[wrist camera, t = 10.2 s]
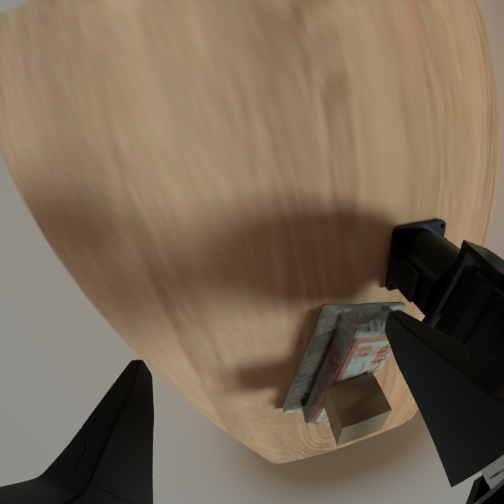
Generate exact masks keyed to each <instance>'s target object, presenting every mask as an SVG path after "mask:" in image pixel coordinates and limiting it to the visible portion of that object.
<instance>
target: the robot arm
mask: <svg viewBox="0 0 504 504" xmlns="http://www.w3.org/2000/svg"><path fill="white" fill-rule="evenodd" d="M445 227H446V222H445V221H443V220H441V219H440V220H435V221H429V222H423V223H418V224H412V225H406V226H401V227H396V228H395V229H394V230H393V234H392V243H391V251H390V256H389V263H388V270H387V278H386V284H385V287H386V288H387V290H389V291H391V290H395V289H398V290H399V291H400V292H401V293H402V294H403V295H404V297H405V298H406V299H407V300H408V301H409V302H413V303H414V304H415V305H416V306H417V307H418V308H419V310H420V311H421V312H422V313H423V314H424V315H426V316H425V317H424V319H423V320H422V322H421V321H419V320H418V319H416V318H414V317H412V316H410V315H408V314H406V313H404V312H402V311H401V310H394V311H391V312H389V313H388V316H387V320H386V324H385V334H386V337H387V339H388V342H389V344H390V347H391V349H392V352H393V354H394V357H395V360H396V362H397V365H398V367H399V369H400V371H401V373H402V375H403V377H404V379H405V381H406V383H407V385H408V387H409V389H410V391H411V393H412V395H413V397H414V399H415V401H416V404H417V406H418V408H419V410H420V412H421V414H422V416H423V419H424V421H425V423H426V425H427V428H428V430H429V432H430V435H431V437H432V439H433V442H434V444H435V447H436V449H437V452H438V454H439V457H440V459H441V462H442V464H443V467H444V469H445V472H446V475H447V477H448V480H449V483H450V485H451V487H453V486H455V485H457V484H459V483H461V482H462V481H464V480H466V479H468V478H469V477H471V476H473V475H474V474H476V473H477V472H479V471H481V472H482V475H481V476H480V477H479V478H477V479H476V480H475V481H474V483H473V486H472V489H471V492H470V494H469V497H468V500H467V502H466V504H504V260H503V259H501V258H500V257H499V256H497V255H496V254H494V253H493V252H491V251H490V250H488V249H487V248H484V247H481V246H479V245H476V244H474V243H471V242H468V241H466V240H463V242H462V245H461V249H459V248H458V247H457V246H455V245H454V244H453V243H451V242H450V241H448V240H447V239H446V238H444V233H445ZM398 232H399V234H398ZM397 234H398V235H397ZM153 426H154V405H153V385H152V376H151V373H150V371H149V369H148V368H147V366H146V364H145V363H144V361H143V360H133V361H131V362H130V363H129V364H128V366H127V367H126V368H125V370H124V371H123V372H122V373H121V375H120V376H119V377H118V379H117V380H116V381H115V383H114V384H113V385H112V387H111V388H110V390H109V391H108V392H107V393H106V395H105V396H104V397H103V399H102V400H101V402H100V403H99V404H98V405H97V407H96V408H95V409H94V411H93V412H92V413H91V415H90V416H89V418H88V419H87V420H86V422H85V423H84V424H83V426H82V429H80V430H79V431H78V433H77V434H76V435H75V437H74V438H73V439H72V441H71V442H70V443H69V445H68V446H67V447H66V448H65V449H64V450H63V452H62V453H61V454H60V455H59V456H58V457H57V459H56V460H55V461H54V462H53V463H52V464H51V465H50V466H49V467H48V469H47V470H46V471H45V472H44V473H43V474H41V475H40V476H39V477H37V478H35V479H32V480H28V481H24V482H20V483H16V484H12V485H7V486H3V487H0V504H153V484H152V483H153V482H152V481H153V479H152V477H153V476H152V467H153V466H152V464H153V463H152V462H153Z"/></svg>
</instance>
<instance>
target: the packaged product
mask: <svg viewBox="0 0 504 504" xmlns="http://www.w3.org/2000/svg"><path fill="white" fill-rule="evenodd" d="M404 306H405V304H404V303H402V302H391V303H367V304H330V305H325V306H323V308H322V310H321V313H320V315H319V318H318V321H317V324H316V327H315V330H314V333H313V335H312V337H311V339H310V342H309V344H308V346H307V348H306V351H305V354H304V356H303V358H302V361H301V363H300V365H299V368H298V370H297V372H296V374H295V377H294V379H293V382H292V384H291V387H290V389H289V391H288V394H287V397H286V399H285V402H284V405H283V411H284V413H293V412H297V411H303V414H304V420H305V422H306V423H310V424H311V423H314V424H325V423H327V422H329V420H328V417H327V414H326V411H325V401H326V391H327V387H328V386H332V385H335V384H338V383H341V382H345V381H348V380H351V379H354V378H357V377H360V376H363V375H366V374H368V373H371V372H373V374H374V376H375V377H376V375H377V374H378V372H379V371H380V370H381V368H382V367H383V365H384V364H385V362H386V360H387V359H388V357H389V355H390V354H391V352H392V349H391V347H390V344H389V342H388V339H387V337H386V334H385V324H386V320H387V316H388V313H389V312H391V311H394V310H401V311H402V310H403V308H404Z"/></svg>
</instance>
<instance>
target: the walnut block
mask: <svg viewBox="0 0 504 504" xmlns="http://www.w3.org/2000/svg"><path fill="white" fill-rule="evenodd" d="M325 411H326V414H327V417H328V420H329V423H330V426H331V429H332V432H333V435H334V437H335V440H336V443H337V446H338V445H341V444H344V443H347V442H350V441H353V440H356V439H359V438H361V437H364V436H367V435H369V434H372V433H374V432H377V431H379V430H381V429H382V427H383V425H384V424H385V422H386V420H387V418H388V416H389V414H390V412H391V411H392V409H391V407H390V405H389V403H388V401H387V399H386V397H385V395H384V393H383V391H382V389H381V387H380V385H379V383H378V382H377V380H376V378H375V376H374V374H373V372H371V373H368V374H366V375H363V376H360V377H357V378H354V379H351V380H348V381H345V382H341V383H338V384H335V385H332V386H328V387H327V391H326V401H325Z"/></svg>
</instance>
